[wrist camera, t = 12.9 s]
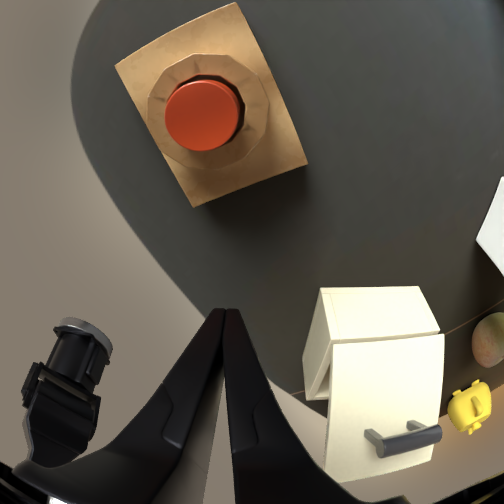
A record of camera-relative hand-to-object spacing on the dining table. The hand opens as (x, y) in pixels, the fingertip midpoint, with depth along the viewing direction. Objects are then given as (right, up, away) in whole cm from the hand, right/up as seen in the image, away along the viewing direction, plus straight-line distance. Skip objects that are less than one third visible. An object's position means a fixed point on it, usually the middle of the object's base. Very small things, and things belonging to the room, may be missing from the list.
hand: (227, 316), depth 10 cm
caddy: (+12, -6, +19) cm, 23 cm away
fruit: (+34, -8, +20) cm, 41 cm away
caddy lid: (+12, -11, +9) cm, 19 cm away
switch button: (-2, +10, +4) cm, 11 cm away
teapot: (+50, -30, +36) cm, 68 cm away
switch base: (-2, +11, +7) cm, 13 cm away
